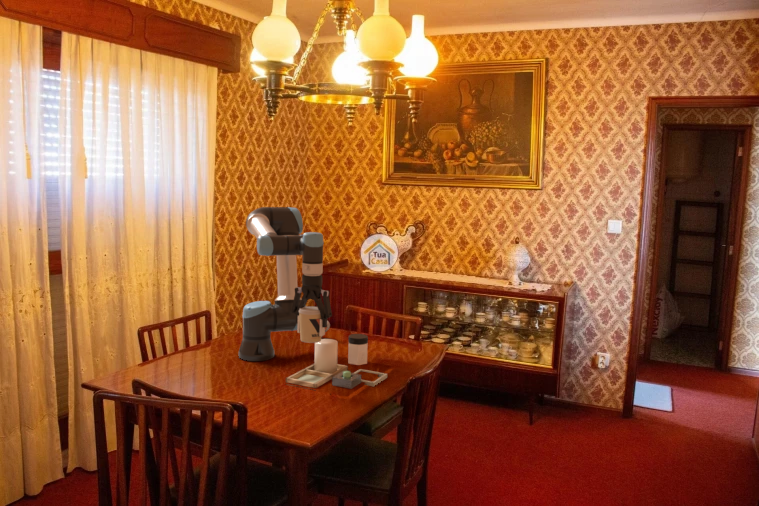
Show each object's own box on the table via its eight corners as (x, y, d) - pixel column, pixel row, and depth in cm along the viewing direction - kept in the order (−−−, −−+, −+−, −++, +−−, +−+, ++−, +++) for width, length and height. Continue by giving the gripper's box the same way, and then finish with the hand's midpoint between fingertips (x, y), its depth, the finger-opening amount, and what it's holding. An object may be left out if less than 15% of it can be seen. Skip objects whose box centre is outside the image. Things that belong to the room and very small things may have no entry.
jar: (353, 368, 248) (354, 339, 247) (343, 362, 255) (344, 335, 254) (371, 365, 253) (372, 337, 252) (361, 360, 260) (362, 332, 259)
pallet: (285, 384, 226) (285, 378, 226) (319, 366, 249) (319, 360, 248) (315, 390, 221) (315, 384, 220) (347, 372, 243) (347, 366, 243)
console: (332, 387, 225) (332, 377, 224) (342, 381, 232) (342, 371, 231) (351, 391, 221) (351, 380, 221) (360, 385, 229) (361, 374, 228)
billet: (309, 372, 238) (310, 342, 236) (321, 366, 246) (322, 337, 244) (329, 376, 234) (330, 346, 233) (341, 370, 242) (341, 340, 241)
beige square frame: (345, 381, 232) (345, 377, 232) (359, 372, 243) (360, 368, 243) (374, 386, 227) (374, 382, 227) (387, 377, 238) (387, 373, 238)
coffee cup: (312, 344, 221) (313, 312, 219) (293, 340, 226) (293, 309, 224) (328, 339, 229) (329, 308, 227) (308, 335, 234) (309, 305, 232)
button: (341, 382, 226) (341, 372, 225) (345, 380, 228) (345, 370, 228) (348, 384, 224) (348, 373, 224) (352, 381, 227) (352, 371, 227)
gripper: (282, 272, 225) (281, 331, 228) (332, 278, 216) (331, 340, 219) (293, 270, 232) (292, 327, 235) (342, 275, 223) (341, 335, 226)
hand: (311, 333), depth 227 cm, fingers closed on coffee cup, 9 cm apart
